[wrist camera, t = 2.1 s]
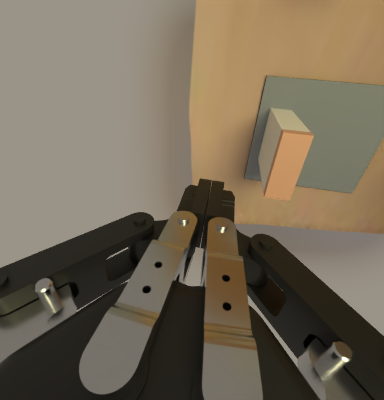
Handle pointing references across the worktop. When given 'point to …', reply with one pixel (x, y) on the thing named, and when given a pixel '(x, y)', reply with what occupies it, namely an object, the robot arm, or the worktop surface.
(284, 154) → the cream and orange block
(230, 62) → the worktop surface
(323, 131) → the slate mat
